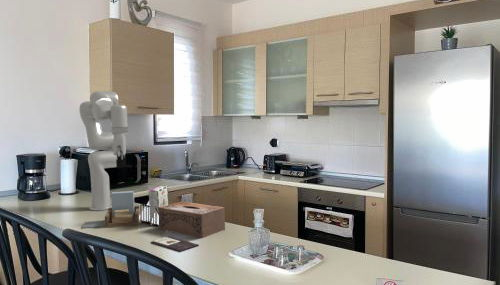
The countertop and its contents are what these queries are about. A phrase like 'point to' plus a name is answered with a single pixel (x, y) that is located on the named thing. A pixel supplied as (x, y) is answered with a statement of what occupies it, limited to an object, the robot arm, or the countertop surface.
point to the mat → (94, 224)
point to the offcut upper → (121, 213)
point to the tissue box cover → (192, 219)
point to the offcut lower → (122, 219)
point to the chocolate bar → (175, 244)
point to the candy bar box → (157, 199)
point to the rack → (109, 218)
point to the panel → (123, 202)
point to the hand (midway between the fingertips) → (121, 166)
